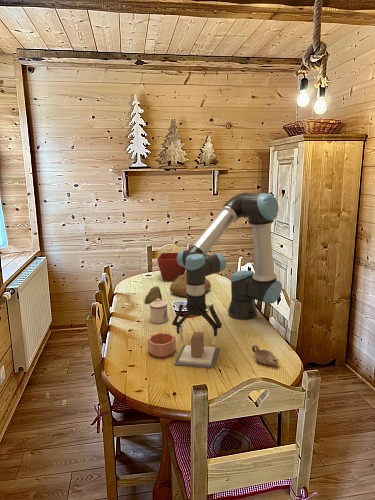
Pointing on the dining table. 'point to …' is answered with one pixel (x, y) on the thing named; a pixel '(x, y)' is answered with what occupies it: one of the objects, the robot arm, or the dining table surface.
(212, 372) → the dining table surface
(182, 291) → the bread
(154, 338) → the bowl
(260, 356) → the oil lamp
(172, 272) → the plant pot
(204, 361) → the lid
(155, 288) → the rock
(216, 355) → the mat
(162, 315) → the teacup with lid
